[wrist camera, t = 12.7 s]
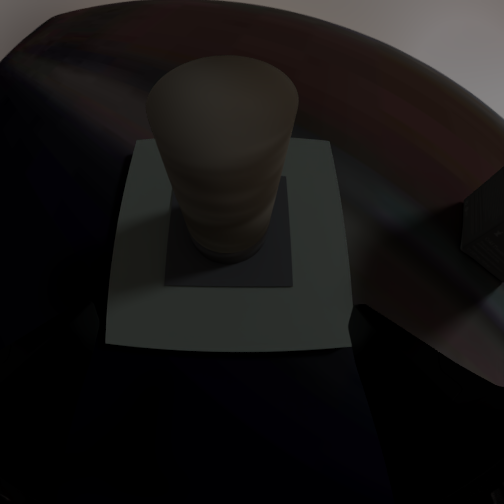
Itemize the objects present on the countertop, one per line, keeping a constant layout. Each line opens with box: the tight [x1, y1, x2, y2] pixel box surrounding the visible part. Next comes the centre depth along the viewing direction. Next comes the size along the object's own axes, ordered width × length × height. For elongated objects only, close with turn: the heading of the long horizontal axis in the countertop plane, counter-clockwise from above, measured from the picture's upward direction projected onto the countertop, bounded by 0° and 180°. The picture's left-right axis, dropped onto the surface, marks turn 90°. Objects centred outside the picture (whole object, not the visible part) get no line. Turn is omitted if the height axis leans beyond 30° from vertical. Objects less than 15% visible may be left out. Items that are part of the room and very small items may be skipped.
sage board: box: [105, 138, 353, 352], centre depth 19 cm, size 16×16×2 cm
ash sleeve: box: [146, 55, 299, 264], centre depth 13 cm, size 5×5×11 cm
